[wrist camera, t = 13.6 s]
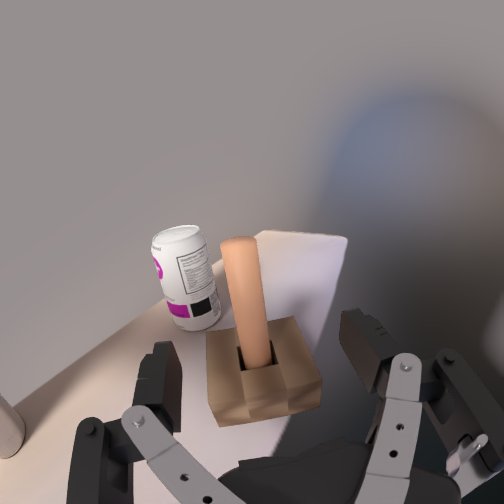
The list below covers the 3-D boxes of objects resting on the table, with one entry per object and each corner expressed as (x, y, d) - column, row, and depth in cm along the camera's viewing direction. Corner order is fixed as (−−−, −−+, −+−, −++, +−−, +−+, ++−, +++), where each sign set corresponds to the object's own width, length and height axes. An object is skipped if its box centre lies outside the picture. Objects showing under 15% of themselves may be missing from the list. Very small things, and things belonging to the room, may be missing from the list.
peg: (251, 395, 28) (221, 253, 21) (247, 377, 31) (219, 239, 24) (276, 390, 28) (259, 246, 21) (271, 372, 31) (253, 234, 24)
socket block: (219, 427, 24) (207, 402, 22) (214, 359, 34) (206, 332, 32) (319, 406, 25) (322, 379, 23) (294, 344, 35) (293, 316, 33)
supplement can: (172, 336, 40) (142, 248, 34) (177, 307, 47) (155, 229, 41) (222, 330, 40) (201, 238, 34) (221, 301, 48) (204, 220, 42)
